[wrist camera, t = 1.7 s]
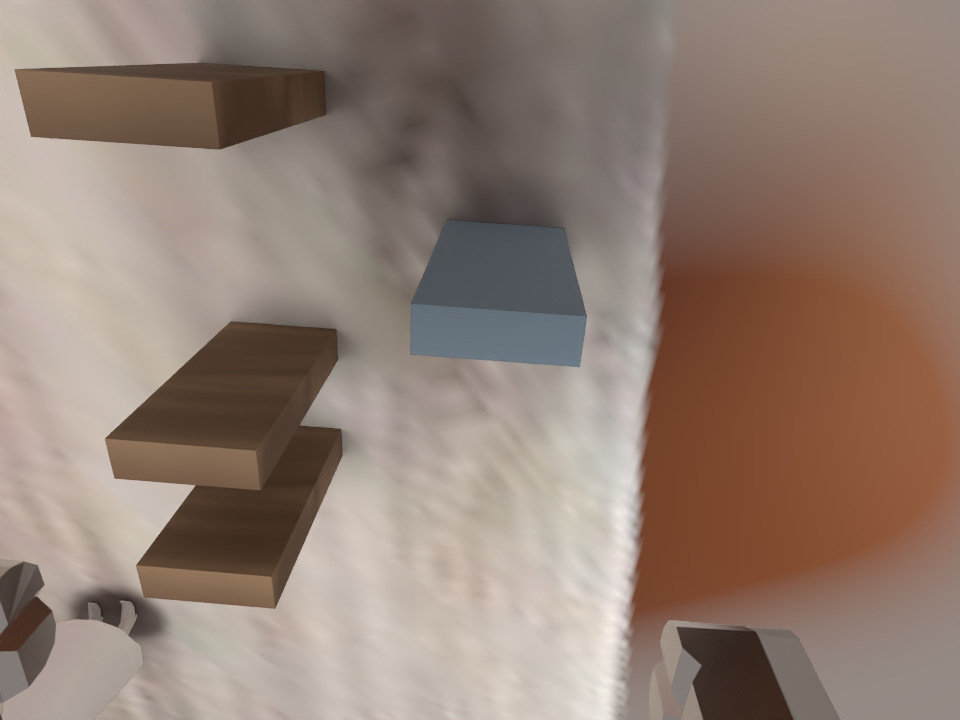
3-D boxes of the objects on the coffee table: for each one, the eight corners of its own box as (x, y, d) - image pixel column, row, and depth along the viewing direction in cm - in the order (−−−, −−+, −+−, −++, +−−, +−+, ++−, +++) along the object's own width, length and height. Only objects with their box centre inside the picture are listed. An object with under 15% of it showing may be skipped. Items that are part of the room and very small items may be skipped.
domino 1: (197, 62, 25) (14, 69, 16) (323, 71, 25) (212, 82, 16) (203, 106, 25) (31, 136, 16) (325, 114, 25) (220, 149, 16)
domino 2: (230, 321, 30) (104, 438, 21) (336, 329, 29) (255, 450, 20) (234, 352, 30) (114, 478, 21) (337, 360, 30) (260, 490, 21)
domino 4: (446, 219, 27) (410, 304, 18) (563, 228, 27) (586, 316, 18) (445, 256, 28) (410, 354, 19) (559, 264, 27) (579, 366, 19)
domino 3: (243, 421, 32) (136, 565, 23) (341, 429, 32) (271, 576, 23) (246, 447, 33) (143, 597, 24) (342, 455, 33) (275, 608, 24)
